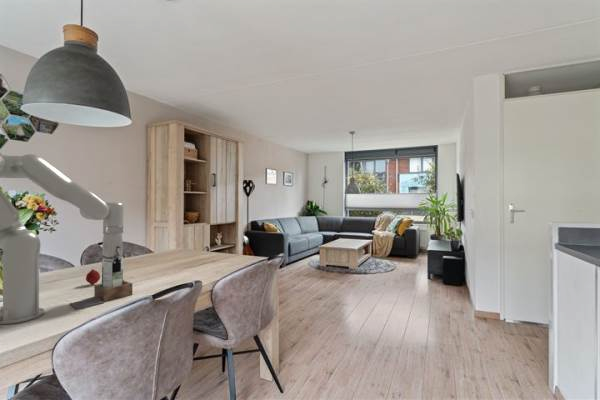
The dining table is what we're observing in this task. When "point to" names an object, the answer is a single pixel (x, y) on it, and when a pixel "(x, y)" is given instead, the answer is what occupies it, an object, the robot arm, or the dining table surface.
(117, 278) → the syrup box
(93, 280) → the red apple
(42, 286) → the dining table surface
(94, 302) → the mat
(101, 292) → the wooden cubby shelf
